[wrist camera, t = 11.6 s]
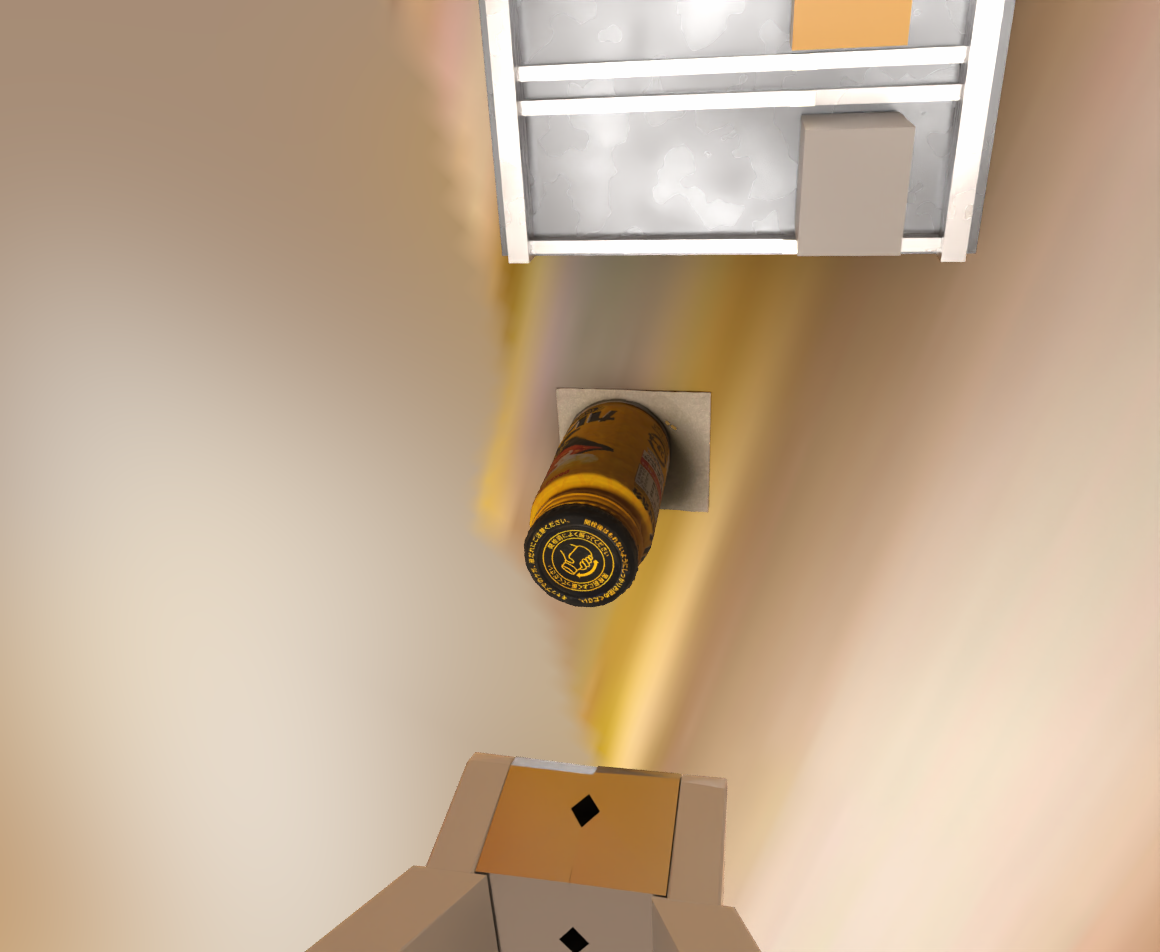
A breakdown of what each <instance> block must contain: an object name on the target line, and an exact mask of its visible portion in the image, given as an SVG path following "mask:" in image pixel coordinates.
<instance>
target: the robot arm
mask: <svg viewBox="0 0 1160 952" xmlns="http://www.w3.org/2000/svg"><path fill="white" fill-rule="evenodd" d="M726 810H727V779H725V778H717V777H707V776H696V775H686V774H683V776H682V774H679V773H668V772H657V771H646V770H635V769H624V768H613V767H602V766H598V767H593V766H585V765H577V764H570V763H562V762H554V761H546V760H539V759H531V758H524V757H510V756H502V755H495V754H487V753H479V752H475V754H474V755H473V756H472V757H471V758H470V759H469V761H468V762H467V764H466V766H465V769H464V771H463V774H462V776H461V779H460V781H459V784H458V786H457V789H456V791H455V794H454V797H453V799H452V802H451V804H450V807H449V809H448V812H447V814H446V817H445V819H444V822H443V824H442V827H441V830H440V832H439V834H438V837H437V839H436V842H435V844H434V847H433V849H432V852H431V855H430V857H429V860H428V862H427V865H426V867H423V866H412V867H411V868H410V869H408V870H407V871H406V872H405V873H403V874H402V875H401V876H400V877H398V878H397V879H396V880H395V881H393V882H392V883H391V884H390V885H388V886H387V887H386V888H384V889H383V890H382V891H381V892H379V893H378V894H377V895H376V896H374V897H373V898H372V899H371V900H369V901H368V902H367V903H366V904H364V905H363V906H362V907H361V908H359V909H358V910H357V911H355V912H354V913H353V914H352V915H351V916H349V917H348V918H347V919H345V920H344V921H343V922H342V923H340V924H339V925H338V926H337V927H335V928H334V929H333V930H332V931H330V932H329V933H328V934H327V935H325V936H324V937H323V938H322V939H320V940H319V941H318V942H316V943H315V944H314V945H313V946H312V947H310V948H309V949H308V950H306V951H305V952H761V951H760V949H759V947H758V946H757V944H756V942H755V941H754V939H753V937H752V936H751V934H750V932H749V931H748V929H747V927H746V926H745V924H744V922H743V921H742V919H741V917H740V916H739V914H738V912H737V911H736V909H735V907H729V906H723V897H724V868H725V839H726Z"/></svg>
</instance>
